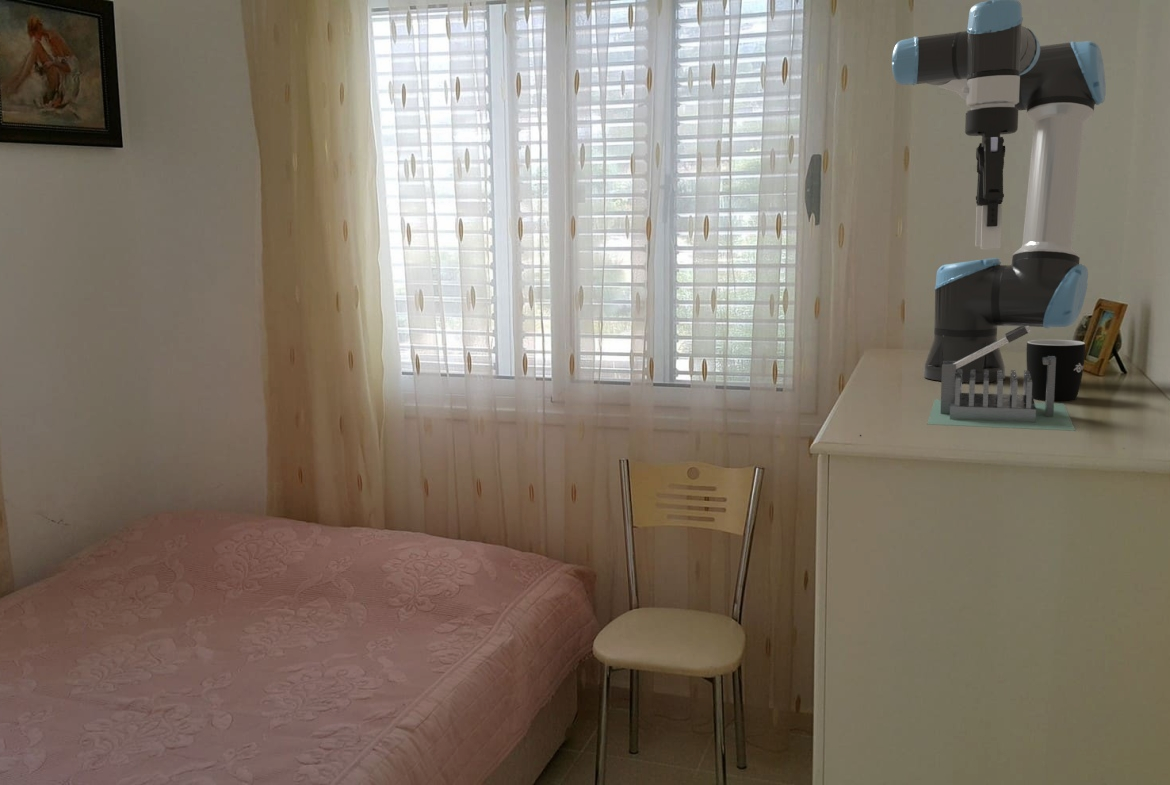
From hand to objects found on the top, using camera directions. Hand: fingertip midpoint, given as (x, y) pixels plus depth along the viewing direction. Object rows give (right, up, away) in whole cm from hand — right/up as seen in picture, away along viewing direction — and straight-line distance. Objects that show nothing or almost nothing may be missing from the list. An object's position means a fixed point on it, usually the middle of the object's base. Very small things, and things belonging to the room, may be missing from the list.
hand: (987, 248), depth 159 cm
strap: (0, -17, -1) cm, 17 cm away
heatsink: (+1, -26, 0) cm, 26 cm away
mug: (+17, -24, +14) cm, 33 cm away
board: (+2, -26, 0) cm, 27 cm away
